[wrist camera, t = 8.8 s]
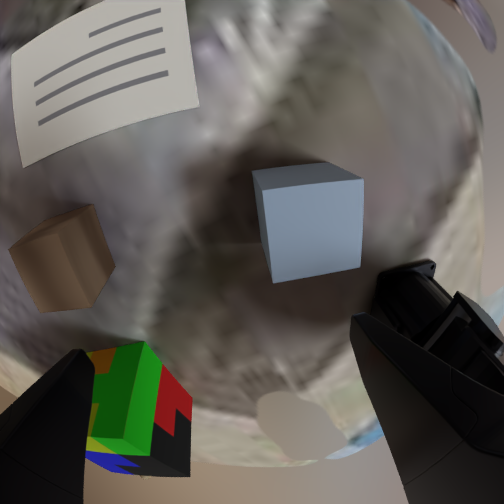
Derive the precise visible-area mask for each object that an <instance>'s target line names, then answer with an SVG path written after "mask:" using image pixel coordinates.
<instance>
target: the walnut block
mask: <svg viewBox="0 0 504 504" xmlns="http://www.w3.org/2000/svg"><path fill="white" fill-rule="evenodd" d="M8 250H9V252H10V255H11V257H12V259H13V261H14V264H15V266H16V268H17V270H18V272H19V274H20V276H21V278H22V280H23V282H24V284H25V286H26V288H27V290H28V292H29V294H30V296H31V297H32V299H33V301H34V303H35V305H36V306H37V308H38V310H39V311H40V313H45V312H55V311H65V310H74V309H83V308H91V307H92V306H93V304H94V302H95V301H96V299H97V297H98V295H99V294H100V292H101V290H102V288H103V287H104V285H105V283H106V282H107V280H108V278H109V277H110V275H111V273H112V272H113V270H114V268H115V267H116V266H115V264H114V261H113V259H112V256H111V253H110V251H109V248H108V246H107V243H106V240H105V237H104V235H103V232H102V229H101V226H100V223H99V220H98V217H97V214H96V211H95V208H94V205H93V204H91V205H88V206H85V207H82V208H79V209H76V210H73V211H70V212H67V213H64V214H61V215H58V216H55V217H52V218H50V219H47V220H44V221H43V222H42V223H40V224H39V225H38V226H37V227H35V228H34V229H33V230H31V231H30V232H29V233H28V234H26V235H25V236H24V237H23V238H21V239H20V240H19V241H18V242H17V243H15V244H14V245H13V246H12V247H11V248H9V249H8Z"/></svg>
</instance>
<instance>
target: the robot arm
mask: <svg viewBox="0 0 504 504" xmlns="http://www.w3.org/2000/svg"><path fill="white" fill-rule="evenodd" d="M435 269H436V263H435V262H434V261H427V262H423V263H419V264H415V265H411V266H407V267H403V268H398V269H394V270H390V271H385V272H382V273H380V274H379V276H378V279H377V286H376V292H375V297H374V299H373V305H372V311H371V315H369V314H367V313H365V312H362V313H358V314H354V315H353V316H352V317H351V325H350V341H351V344H352V347H353V351H354V354H355V357H356V361H357V364H358V367H359V371H360V374H361V377H362V381H363V383H364V386H365V388H366V391H367V393H368V395H369V398H370V400H371V403H372V405H373V408H374V410H375V412H376V415H377V417H378V420H379V422H380V425H381V427H382V430H383V432H384V435H385V438H386V440H387V443H388V445H389V448H390V450H391V453H392V456H393V459H394V462H395V464H396V467H397V470H398V472H399V475H400V478H401V481H402V484H403V486H404V490H405V493H406V496H407V499H408V502H409V504H504V336H503V335H502V333H501V331H500V330H499V328H498V327H497V325H496V324H495V322H494V321H493V319H492V318H491V317H490V316H489V315H488V314H487V313H486V312H485V311H484V310H483V309H482V308H481V307H480V306H479V305H478V304H477V303H476V302H474V301H473V300H471V299H470V298H468V297H467V296H465V295H463V294H462V293H460V292H459V291H457V292H456V293H455V295H454V296H453V297H454V298H452V297H451V296H450V295H449V294H448V293H447V292H446V291H445V290H444V289H443V288H442V287H441V286H440V285H439V284H438V283H437V282H436V281H435V280H434V279H433V277H434V273H435ZM384 277H385V278H384ZM383 278H384V279H383ZM94 377H95V366H94V364H93V362H92V361H91V360H90V358H89V357H88V355H87V354H86V353H85V351H84V350H82V349H73V350H71V351H70V352H69V353H68V354H67V355H66V356H64V357H63V358H62V359H61V360H60V361H59V362H57V363H56V364H55V365H54V366H53V367H52V368H51V369H50V370H48V371H47V372H46V373H45V374H44V375H43V376H42V377H41V378H39V379H38V380H37V381H36V382H35V383H34V384H33V385H32V386H31V387H29V388H28V389H27V390H26V391H25V392H24V393H23V394H22V395H21V396H20V397H19V398H18V399H17V400H16V401H14V402H13V404H11V405H10V406H9V407H8V408H7V409H6V410H5V411H4V412H3V413H2V414H0V504H83V488H84V487H83V486H84V468H85V455H86V445H87V436H88V429H89V421H90V415H91V408H92V398H93V387H94Z"/></svg>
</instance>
